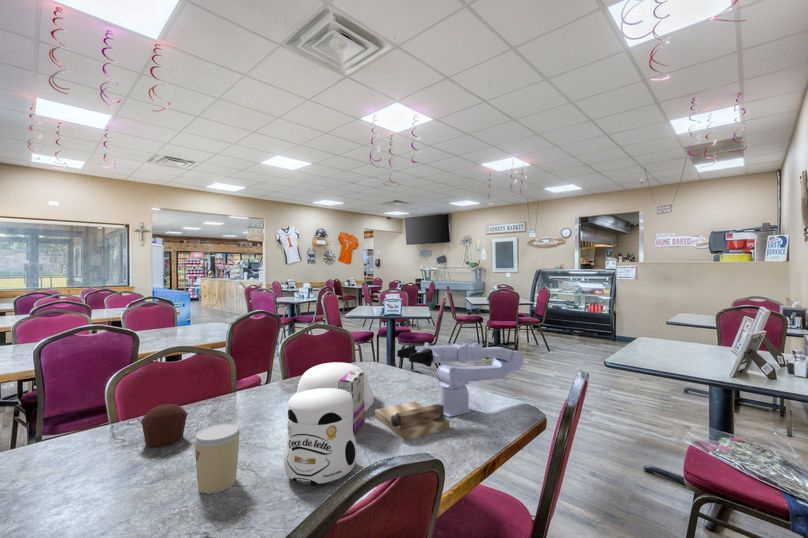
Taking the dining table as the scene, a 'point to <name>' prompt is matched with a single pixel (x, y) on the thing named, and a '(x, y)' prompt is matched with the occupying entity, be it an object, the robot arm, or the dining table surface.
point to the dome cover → (332, 379)
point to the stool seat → (413, 429)
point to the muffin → (164, 425)
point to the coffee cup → (217, 457)
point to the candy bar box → (355, 395)
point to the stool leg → (417, 415)
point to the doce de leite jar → (320, 436)
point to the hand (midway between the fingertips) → (403, 355)
